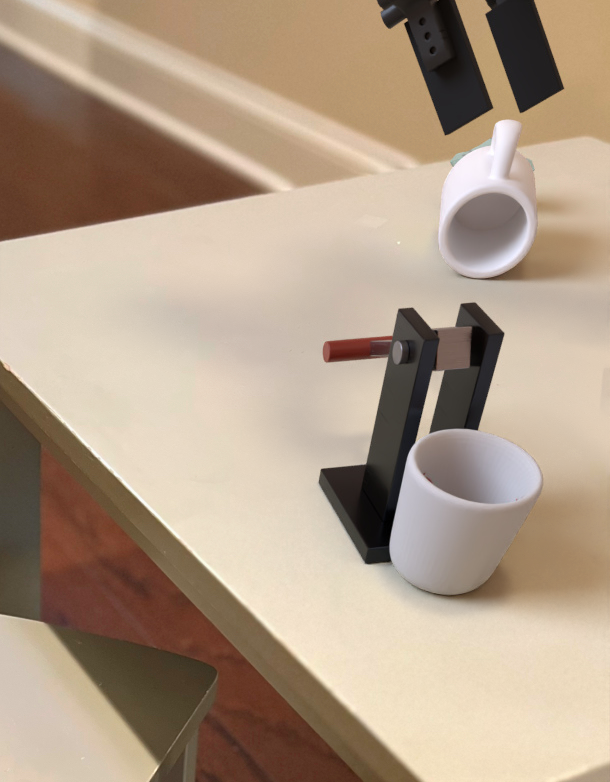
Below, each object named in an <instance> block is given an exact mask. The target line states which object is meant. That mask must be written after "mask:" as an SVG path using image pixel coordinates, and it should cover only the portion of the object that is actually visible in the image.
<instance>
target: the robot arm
mask: <svg viewBox="0 0 610 782" xmlns="http://www.w3.org/2000/svg"><path fill="white" fill-rule="evenodd" d="M484 1H485V2H486V4H487V6H488V7H489V8H490V10H489V11H486V13H485V14H484V15H485V18H486V21H487V23H488V27H489V30H490V33H491V35H492V39H493V42H494V44H495V46H496V49H497V52H498V55H499V58H500V61H501V64H502V67H503V69H504V73H505V75H506V78H507V79H508V83H509V86H510V89H511V92H512V95H513V98H514V101H515V103H516V106H517V109H518V112H519V114H523V113H525V112H527V111H529V110H531V109H532V108H534V107H535V106H537V105H539V104H541V103H543V102H544V101H546V100H547V99H550V98H551V97H553V96H554V95H557V94H558V93H559V92H561V91H563V90H565V86H564V84H563V80H562V78H561V75H560V72H559V69H558V66H557V63H556V60H555V57H554V54H553V51H552V47H551V45H550V43H549V40H548V36H547V34H546V31H545V28H544V25H543V22H542V19H541V16H540V13H539V10H538V7H537V4H536V2H535V0H484ZM376 2H377V5H378V6H379V8H381V9H382V10H381V11H380V17H381V20H382V22H383V25H385V27H386V28H387V29H389V30H391V29H392V28H394V27H396V26H397V25H399V24H401V22H403V21H404V20H407V21H405V22H404V23H403V25H404V29H405V31H406V33H407V37H408V40H409V41H410V45H411V47H412V50H413V52H414V55H415V58H416V61H417V64H418V66H419V70H420V72H421V74H422V77H423V80H424V82H425V85H426V88H427V91H428V93H429V96H430V100H431V101H432V104H433V107H434V110H435V113H436V115H437V118H438V120H439V124H440V126H441V129H442V132H443V135H444V136H449V135H451V134H453V133H454V132H456V131H457V130H459V129H461V128H463V127H465V126H466V125H468V124H469V123H471V122H473V121H475V120H477V119H478V118H480V117H482V116H484V115H485V114H486V113H488V112H491V110H493V109H494V105H493V102H492V100H491V96H490V93H489V91H488V89H487V85H486V83H485V81H484V78H483V75H482V72H481V68H480V66H479V63H478V61H477V58H476V54H475V52H474V49H473V46H472V43H471V41H470V38H469V35H468V32H467V29H466V27H465V24H464V21H463V19H462V16H461V13H460V10H459V7H458V5H457V2H456V0H376Z"/></svg>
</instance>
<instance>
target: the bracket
mask: <svg viewBox="0 0 610 782" xmlns="http://www.w3.org/2000/svg"><path fill="white" fill-rule="evenodd" d="M454 325H455V326H454V327H466V326H471V327H472V340H471V359H470V368H466V369H455V370H444V371H443V375H442V379H441V382H440V387H439V391H438V395H437V399H436V403H435V407H434V411H433V415H432V420H431V424H430V428H429V432H428V434H430V433H433V432H437V431H441V430H448V429H470V430H477V431H479V429H480V425H481V421H482V418H483V414H484V410H485V406H486V402H487V400H488V397H489V396H488V395H489V392H490V390H491V389H490V388H491V385H492V382H493V377H494V373H495V371H496V366H497V363H498V359H499V356H500V352H501V349H502V345H503V341H504V337H505V331H504V330H503V329H501V328H500V326H499V325H498V324H497V323H496V322H495V321H494V320H493V319H492V318H491V317H490V316H489V315H488V314H487V313H486V311H484V310H483V308H482V307H481V306H480V305H479V304H478V303H477V302H473V301H472V302H462V303H460V305H459V309H458V312H457V316H456V321H455V324H454ZM392 335H393V337H392V341H391V346H390V351H389V356H388V358H387V361H386V367H385V370H384V376H383V381H382V385H381V390H380V395H379V400H378V405H377V409H376V415H375V420H374V423H373V429H372V433H371V438H370V444H369V447H368V453H367V458H366V463H365V464H355V465H346V466H335V467H334V466H333V467H324V468H320V471H319V476H318V482H317V483H318V485H319V487H320V488H321V490H322V492H323V494H324V495H325V497H326V498H327V500H328V502H329V504H330V505H331V507H332V509H333V511H334V513H335V514H336V515H337V518H338V519H339V521H340V522H341V524H342V526H343V528H344V530H345V531H346V533H347V535H348V537H349V538H350V540H351V541H352V543H353V545H354V546H355V548H356V551H357V552H358V554H359V556H360V558H361V559H362V560H363V562H364V563H365V564H373V563H382V562H383V563H384V562H392V560H391V557H390V538H391V532H392V527H393V523H394V518H395V513H396V509H397V504H398V499H399V494H400V490H401V485H402V480H403V476H404V471H405V466H406V461H407V457H408V454H409V452H410V450H411V448H412V447H413V445H414V444H415V443H416V442H417V438H418V433H419V430H420V425H421V421H422V417H423V414H424V413H423V412H424V409H425V408H424V407H425V404H426V400H427V395H428V392H429V387H430V382H431V379H432V375H433V371H432V370H433V366H434V362H435V358H436V354H437V349H438V345H439V341H440V338H439V337H438V336H437V335H436V334H435V332H434V331H433V330H432V328H431V326H430V325H429V324H428V323H427V322H426V321H425V319H424V318H423V317H422V316H421V315H420V314H419V312H418V311H417V310H416V309H415V307H402V308H397V313H396V317H395V323H394V327H393V333H392Z"/></svg>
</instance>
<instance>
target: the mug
mask: <svg viewBox="0 0 610 782" xmlns="http://www.w3.org/2000/svg"><path fill="white" fill-rule="evenodd" d="M493 126H494V127H493V131H492V136H491V138H492V142H491V146H485V147H482V148H479V149H476V150H474V151H472V152H470V153H468V154H467V155H465V156H464V157H463V158H461V159H460V160H459V161H458V162H457V163H456V164H455V165H454V167H452V168H451V169H450V171H449V172H448V174H447V176H446V178H445V179H444V183H443V185H442V189H441V197H440V207H439V208H440V209H439V220H438V222H439V223H438V231H437V233H438V234H437V243H438V249H439V252H440V255H441V257H442V258H443V259H442V260H443V261H444V262H445V263H446V265H447V266H448V267H449V268H450V269H451V270H453V271H454V272H455V273H457V274H459V275H461V276H464V277H467V278H471V279H488V278H493V277H497V276H500V275H502V274H505V273H506V272H508V271H511V269H513V268H514V267H515V266H517V265H519V264H520V263H521V261H523V259H524V258H526V255H528V254H529V252H530V250H531V249H532V247H533V244H534V242H535V240H536V237H537V233H538V226H539V220H538V219H539V218H538V205H537V204H538V203H537V190H536V177H535V173H534V172H535V171H533V169H532V167H531V165H530V163H529V162H528V160H527V159H528V158H527V157H526V156H524V154H522V153H521V152H520V151H519V150H517V148H518V144H519V141H520V138H521V134H522V130H523V124H522V122H520V121H518V120H515V119H502V120H499V121H497V122H496V123H495V124H494V125H493ZM526 158H527V159H526Z"/></svg>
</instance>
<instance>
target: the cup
mask: <svg viewBox="0 0 610 782" xmlns="http://www.w3.org/2000/svg"><path fill="white" fill-rule="evenodd" d="M543 487H544V476H543V472H542V469H541V467H540V466H539V464H538V462H537V461H536V459H535V458H534V457H533V456H532V455H531V454H530V453H529V452H527V451H526V449H523V448H522V447H521V446H519V445H518V444H516V443H514V442H513V441H511V440H509V439H506V438H505V437H501V436H499V435H496V434H494V433H490V432H486V431H483V430H478V431H477V430H470V429H448V430H441V431H437V432H433V433H430V434H429V433H428V434H425V435H424V436H422V437H421V438H419V440H416V442H415V444H414V445H413V447H412V448H411V450H410V452H409V454H408V457H407V461H406V466H405V471H404V476H403V480H402V485H401V490H400V494H399V499H398V504H397V509H396V513H395V518H394V523H393V527H392V532H391V538H390V557H391V560H392V561H391V563H392V565H393V567H394V569H395V570H396V571H397V573H398V574H399V575H400V577H402V578H403V579H404V580H405V581H407V582H408V583H409V584H410V585H413V586H414V587H415V588H419V589H420V590H423V591H426V592H429V593H432V594H438V595H445V596H451V595H452V596H455V595H462V594H466V593H469V592H473V591H474V590H476V589H478V588H479V587H481V586H483V585H484V583H485V582H487V580H489V579H490V577H492V575H493V574H494V572H495V570H496V569H497V567H498V566H499V564H500V563H501V561H502V559H503V557H504V556H505V555H506V552H507V551H508V550H509V548H510V546H511V544H512V543H513V541H514V539H515V538H516V536H517V534H518V533H519V531H520V529H521V527H522V526H523V525H524V523H525V521H526V519H527V518H528V516H529V514H530V513H531V511H532V509H533V508H534V507H535V504H536V503H537V501H538V500H539V498H540V496H541V494H542V491H543Z"/></svg>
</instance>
